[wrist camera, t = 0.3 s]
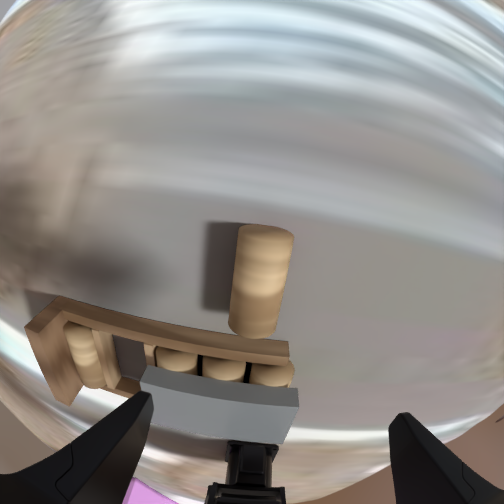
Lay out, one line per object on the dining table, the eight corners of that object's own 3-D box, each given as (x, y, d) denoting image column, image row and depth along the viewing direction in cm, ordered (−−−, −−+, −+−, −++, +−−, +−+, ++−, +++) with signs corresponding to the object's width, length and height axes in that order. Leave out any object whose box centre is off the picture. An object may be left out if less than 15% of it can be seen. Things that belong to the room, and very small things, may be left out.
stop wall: (92, 371, 26) (69, 406, 20) (79, 366, 26) (55, 399, 20) (73, 299, 22) (38, 333, 17) (59, 295, 22) (24, 327, 17)
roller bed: (275, 411, 26) (275, 436, 22) (89, 370, 26) (75, 389, 22) (296, 342, 22) (300, 371, 19) (69, 298, 22) (49, 317, 19)
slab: (282, 427, 22) (282, 443, 20) (155, 407, 22) (149, 422, 20) (297, 388, 20) (299, 407, 18) (148, 364, 20) (139, 381, 18)
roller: (272, 312, 22) (279, 339, 18) (228, 309, 21) (228, 337, 18) (287, 227, 19) (300, 244, 16) (237, 222, 19) (239, 238, 15)
